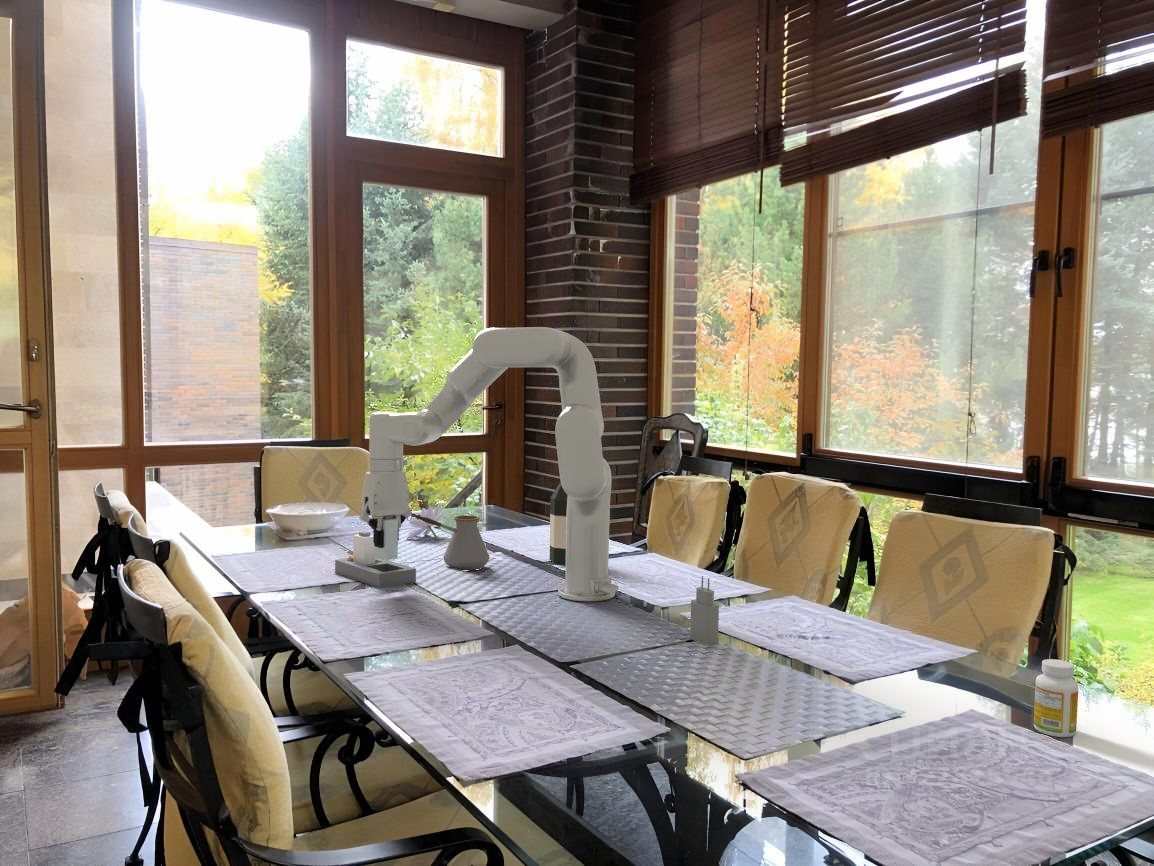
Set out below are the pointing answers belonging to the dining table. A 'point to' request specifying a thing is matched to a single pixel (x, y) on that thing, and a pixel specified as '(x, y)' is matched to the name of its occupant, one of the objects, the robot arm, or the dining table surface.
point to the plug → (389, 539)
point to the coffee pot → (463, 543)
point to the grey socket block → (376, 572)
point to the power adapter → (704, 617)
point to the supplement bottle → (1056, 699)
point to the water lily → (424, 525)
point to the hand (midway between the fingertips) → (386, 545)
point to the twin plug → (363, 548)
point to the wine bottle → (558, 525)
